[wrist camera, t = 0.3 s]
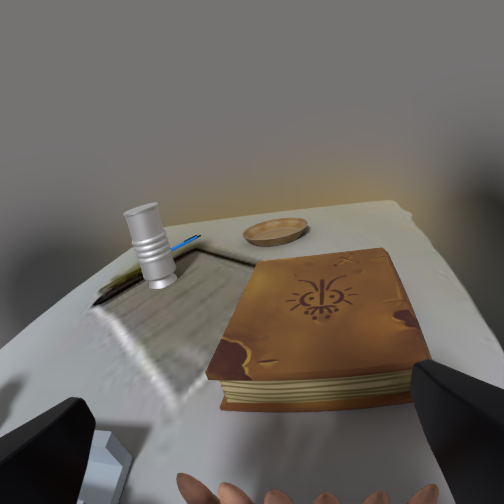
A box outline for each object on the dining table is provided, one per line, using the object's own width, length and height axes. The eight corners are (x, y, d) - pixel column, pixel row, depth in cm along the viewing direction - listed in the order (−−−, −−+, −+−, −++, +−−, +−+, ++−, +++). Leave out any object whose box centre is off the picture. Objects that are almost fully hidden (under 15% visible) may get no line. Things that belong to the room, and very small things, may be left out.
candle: (157, 274, 63) (136, 206, 58) (185, 273, 61) (164, 200, 56) (140, 290, 57) (115, 216, 52) (168, 289, 55) (144, 210, 50)
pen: (201, 237, 85) (200, 233, 84) (146, 266, 71) (144, 261, 71) (199, 237, 85) (198, 233, 85) (144, 265, 72) (142, 261, 72)
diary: (425, 404, 22) (435, 357, 20) (222, 414, 27) (205, 372, 25) (388, 282, 42) (387, 245, 40) (265, 294, 47) (257, 260, 45)
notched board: (107, 538, 13) (77, 519, 12) (38, 513, 14) (10, 490, 12) (132, 457, 21) (111, 431, 20) (69, 447, 22) (47, 422, 21)
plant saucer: (231, 248, 70) (228, 237, 69) (271, 226, 80) (269, 216, 79) (284, 254, 60) (281, 241, 59) (321, 229, 70) (319, 218, 69)
